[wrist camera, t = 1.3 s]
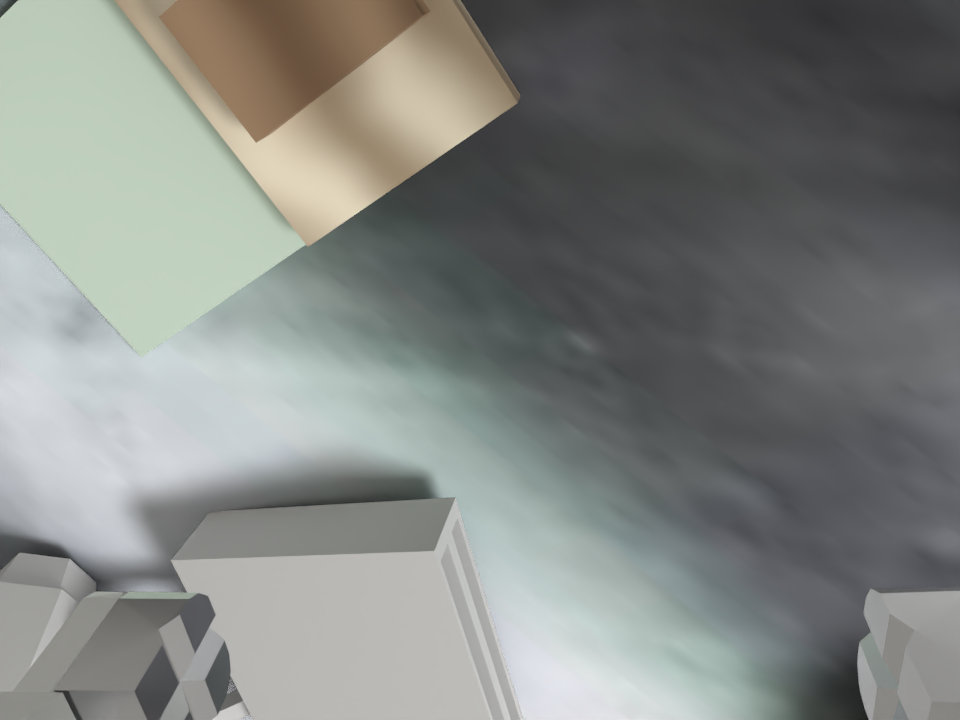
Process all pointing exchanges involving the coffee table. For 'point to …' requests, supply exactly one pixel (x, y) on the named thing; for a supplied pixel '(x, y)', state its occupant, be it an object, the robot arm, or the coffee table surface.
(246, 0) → the coaster
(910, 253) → the coffee table surface
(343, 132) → the deck
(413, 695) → the game console
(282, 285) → the coffee table surface
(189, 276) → the mat
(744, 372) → the coffee table surface
